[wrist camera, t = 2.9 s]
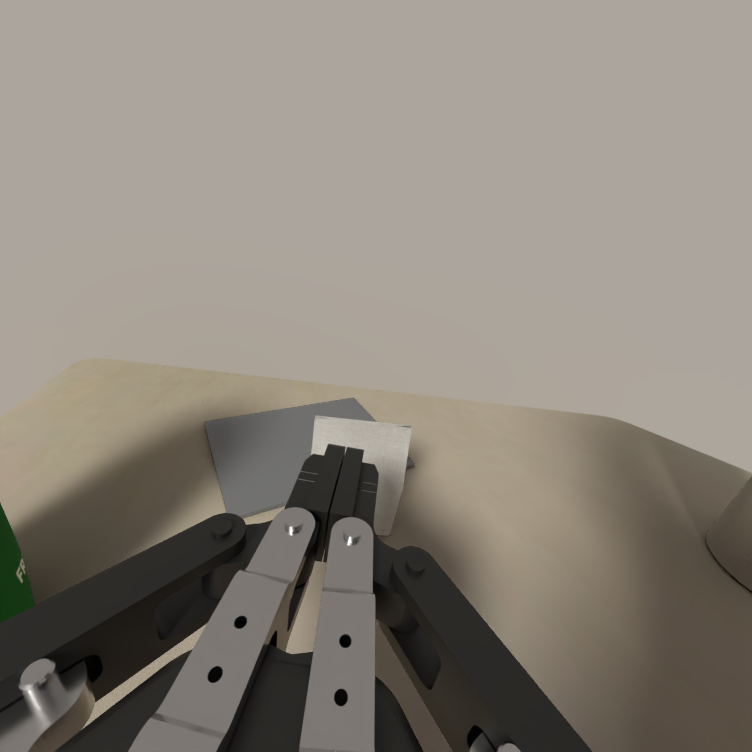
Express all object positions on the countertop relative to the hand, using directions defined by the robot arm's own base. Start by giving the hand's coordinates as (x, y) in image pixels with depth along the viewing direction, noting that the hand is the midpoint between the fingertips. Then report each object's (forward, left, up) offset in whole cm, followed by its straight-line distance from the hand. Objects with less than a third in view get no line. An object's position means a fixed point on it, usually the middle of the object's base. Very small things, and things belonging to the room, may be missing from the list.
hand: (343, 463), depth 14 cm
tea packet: (-6, -8, -14) cm, 17 cm away
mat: (-6, -18, -14) cm, 24 cm away
